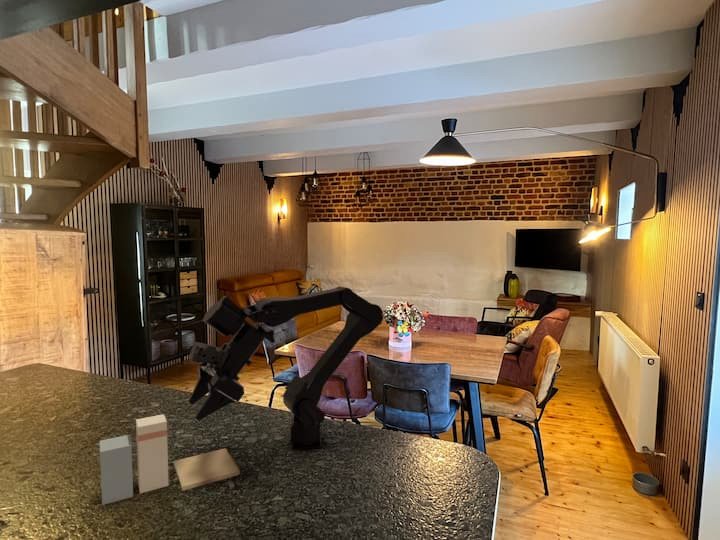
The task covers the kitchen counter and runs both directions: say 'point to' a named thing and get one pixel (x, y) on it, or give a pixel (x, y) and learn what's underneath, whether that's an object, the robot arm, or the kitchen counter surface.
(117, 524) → the kitchen counter surface
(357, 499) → the kitchen counter surface
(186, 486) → the coaster
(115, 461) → the ticket block
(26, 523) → the kitchen counter surface
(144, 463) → the beige upright block
